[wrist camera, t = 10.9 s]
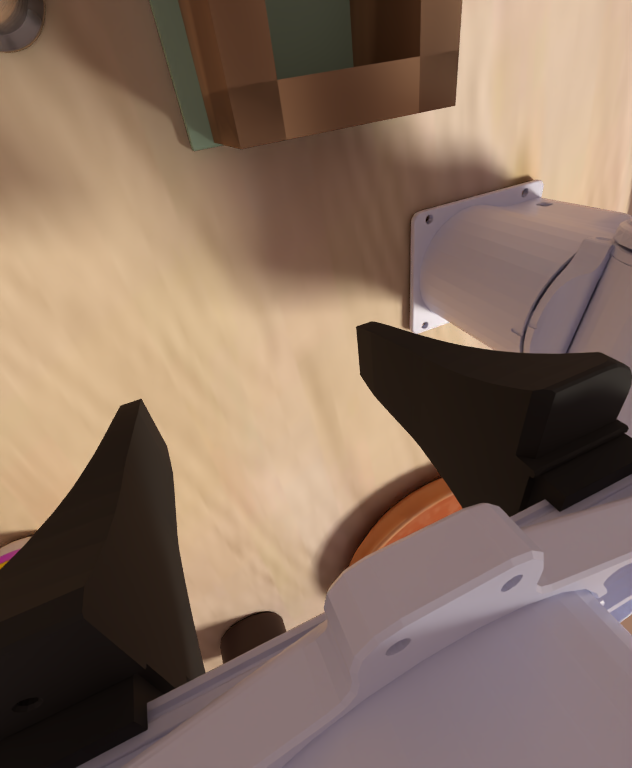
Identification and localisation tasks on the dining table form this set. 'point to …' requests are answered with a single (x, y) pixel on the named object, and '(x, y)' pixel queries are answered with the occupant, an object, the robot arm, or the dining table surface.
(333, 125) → the walnut C-link
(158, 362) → the dining table surface
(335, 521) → the dining table surface
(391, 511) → the saucer
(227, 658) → the vinegar
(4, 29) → the metal door knob
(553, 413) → the robot arm
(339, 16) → the green rubber mat
